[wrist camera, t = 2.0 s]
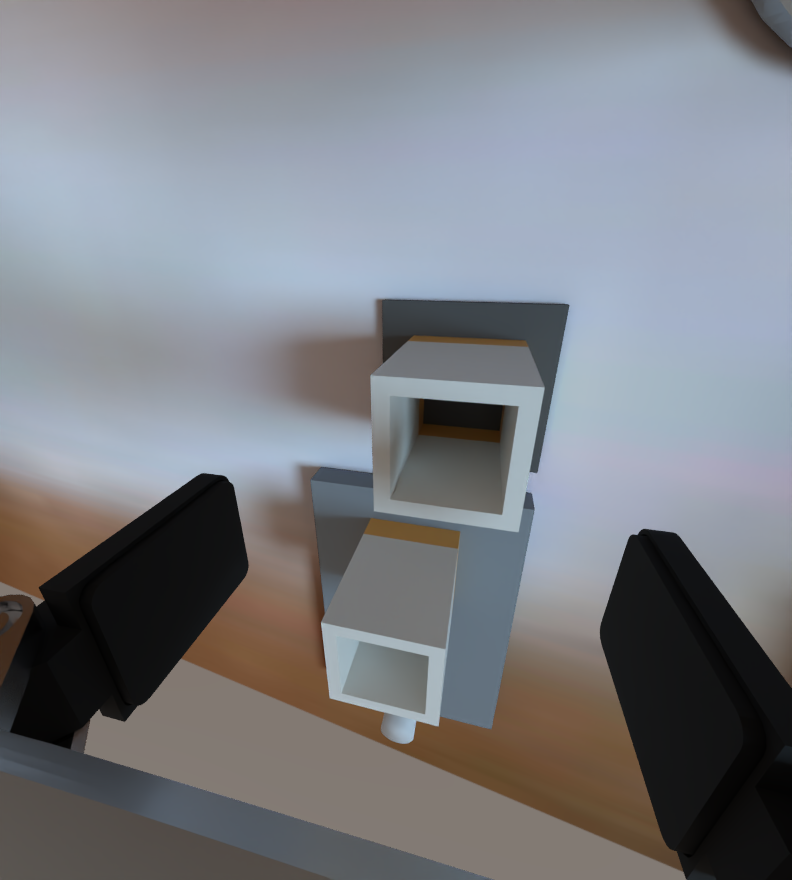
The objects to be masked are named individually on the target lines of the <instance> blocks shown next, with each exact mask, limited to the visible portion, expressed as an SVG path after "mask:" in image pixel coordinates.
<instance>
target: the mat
mask: <svg viewBox="0 0 792 880" xmlns="http://www.w3.org/2000/svg"><path fill="white" fill-rule="evenodd" d="M568 310H569V305H568V304H533V303H495V302H457V301H419V300H382V311H383V363H384V362H385V361H387V360H388V359H389V358H390V357H391V356H392V355H393V354H394V353H395V352H396V351H397V350H399V349H400V348H401V347H402V346H403V345H404V344H405V343H406V342H407V341H408V340H409V339H410V338H412V337H413V336H414V335H416V336H438V337H460V338H482V339H503V340H525V341H526V342H527V345H528V347H529V350H530V352H531V355H532V357H533V359H534V362H535V364H536V367H537V369H538V372H539V374H540V377H541V379H542V382H543V384H544V387H545V389H544V395H543V400H542V406H541V411H540V417H539V422H538V428H537V433H536V439H535V444H534V450H533V455H532V461H531V467H530V472H534V473H537V472H538V467H539V461H540V456H541V451H542V446H543V440H544V435H545V430H546V425H547V419H548V414H549V409H550V404H551V398H552V393H553V388H554V383H555V378H556V372H557V367H558V362H559V357H560V351H561V346H562V341H563V336H564V330H565V325H566V320H567V315H568ZM502 409H503V405H497V404H485V403H473V402H460V401H448V400H435V399H424V417H423V424H433V425H443V426H454V427H464V428H475V429H486V430H496V431H500V424H501V416H502Z"/></svg>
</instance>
